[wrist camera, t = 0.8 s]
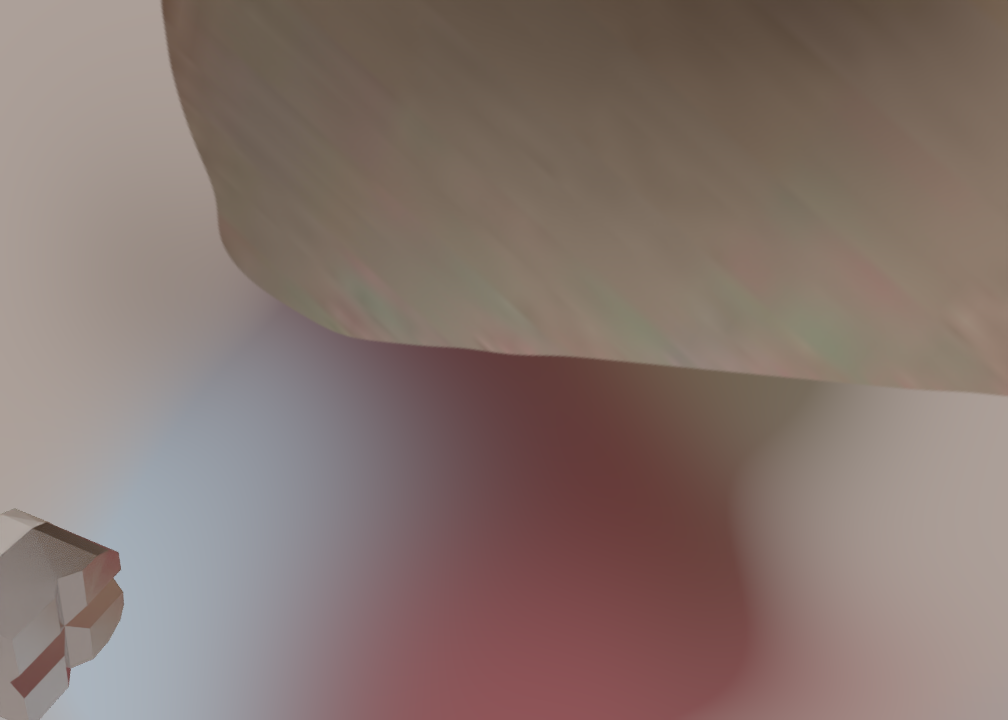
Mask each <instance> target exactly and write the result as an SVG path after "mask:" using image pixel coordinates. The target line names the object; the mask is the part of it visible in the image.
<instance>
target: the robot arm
mask: <svg viewBox="0 0 1008 720" xmlns="http://www.w3.org/2000/svg"><path fill="white" fill-rule="evenodd" d="M120 570H121V566H120V559H119V553H118V552H116V551H114V550H112V549H109V548H107V547H105V546H102V545H100V544H97V543H95V542H93V541H90V540H88V539H86V538H83V537H81V536H78V535H76V534H74V533H71V532H69V531H67V530H64V529H62V528H59V527H57V526H55V525H53V524H51V523H49V522H47V521H44V520H42V519H40V518H37V517H35V516H32V515H30V514H27V513H25V512H22V511H20V510H17V509H12V510H10V511H7V512H5V513H2V514H0V717H2V718H5V719H7V720H39V719H40V718H41V717H42V716H43V715H44V714H45V713H46V712H47V710H48V709H49V708H50V707H51V706H52V705H53V704H54V703H55V702H56V700H57V699H58V698H59V697H60V696H61V695H62V694H63V693H64V692H65V690H66V689H67V688H68V687H69V680H70V671H71V668H73V667H75V666H78V665H80V664H83V663H85V662H87V661H89V660H92V659H94V658H95V657H96V655H97V654H98V653H99V652H100V651H101V650H102V648H103V647H104V646H105V645H106V644H107V643H108V641H109V640H110V638H111V636H112V634H113V632H114V630H115V628H116V627H117V625H118V623H119V621H120V619H121V615H122V610H123V606H124V599H123V591H122V590H121V588H120V587H119V586H118V584H117V583H116V581H115V580H114V576H115V575H116V574H117V573H118V572H119V571H120Z"/></svg>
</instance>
